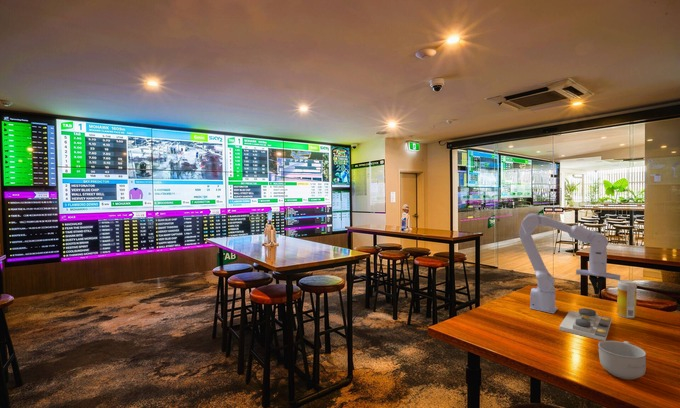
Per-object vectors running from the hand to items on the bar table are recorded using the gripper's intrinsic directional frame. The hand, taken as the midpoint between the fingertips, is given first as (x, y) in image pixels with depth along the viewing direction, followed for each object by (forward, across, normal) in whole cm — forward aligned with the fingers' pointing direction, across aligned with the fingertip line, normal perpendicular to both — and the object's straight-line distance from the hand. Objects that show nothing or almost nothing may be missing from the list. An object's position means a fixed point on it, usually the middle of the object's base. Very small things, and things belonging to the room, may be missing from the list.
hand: (596, 293), depth 138 cm
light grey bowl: (+11, +11, -45) cm, 48 cm away
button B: (+7, -2, -13) cm, 15 cm away
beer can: (+11, +9, +11) cm, 18 cm away
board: (+10, -2, -13) cm, 17 cm away
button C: (+9, -2, -5) cm, 11 cm away
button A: (+9, -2, -20) cm, 22 cm away
